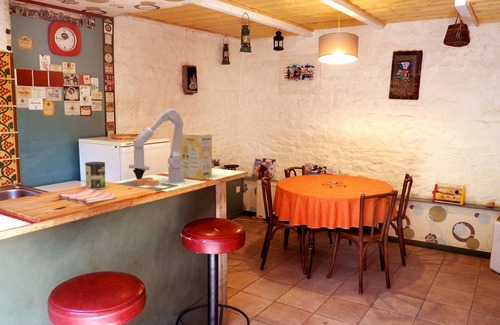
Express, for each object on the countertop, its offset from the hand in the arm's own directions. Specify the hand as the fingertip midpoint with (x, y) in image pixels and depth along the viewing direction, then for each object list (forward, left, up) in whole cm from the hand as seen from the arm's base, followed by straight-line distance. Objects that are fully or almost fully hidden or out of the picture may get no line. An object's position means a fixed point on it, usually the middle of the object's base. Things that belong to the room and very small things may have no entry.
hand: (139, 181), depth 242 cm
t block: (0, +7, -1) cm, 7 cm away
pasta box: (-40, +11, -2) cm, 41 cm away
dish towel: (+41, +6, -2) cm, 42 cm away
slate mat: (0, +6, -2) cm, 6 cm away
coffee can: (+22, -11, -2) cm, 25 cm away
